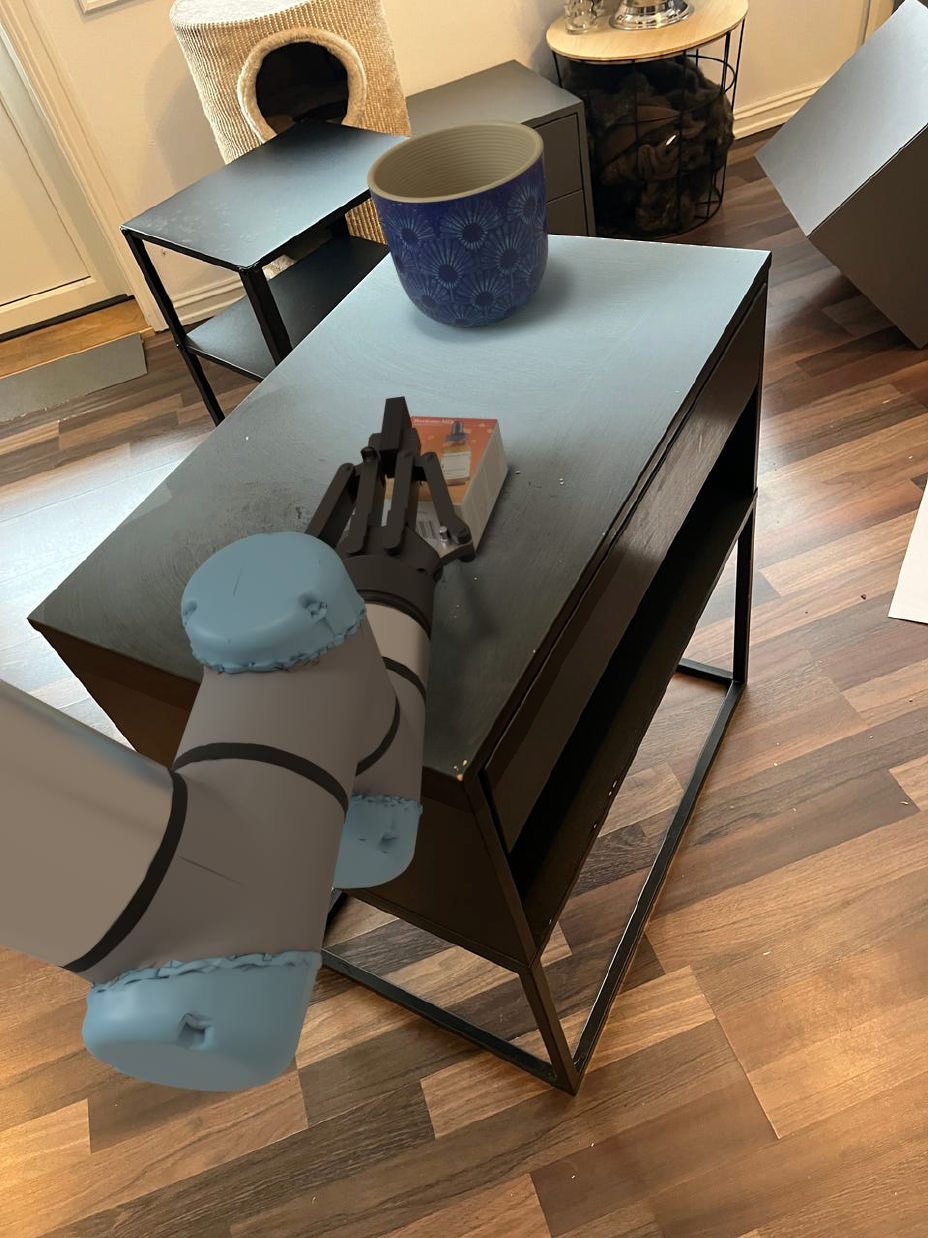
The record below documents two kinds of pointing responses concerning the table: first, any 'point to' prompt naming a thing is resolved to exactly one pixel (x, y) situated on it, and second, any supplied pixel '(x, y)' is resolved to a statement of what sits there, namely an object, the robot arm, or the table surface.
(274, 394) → the table surface
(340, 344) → the table surface
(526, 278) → the planter
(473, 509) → the small box
